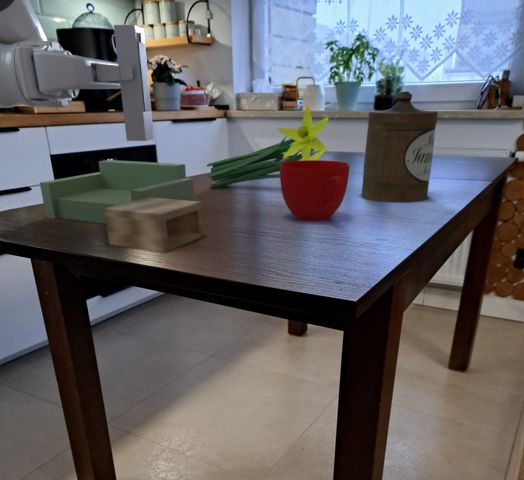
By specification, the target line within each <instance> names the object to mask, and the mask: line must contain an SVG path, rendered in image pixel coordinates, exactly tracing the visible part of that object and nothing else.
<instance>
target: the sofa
mask: <svg viewBox="0 0 524 480" xmlns="http://www.w3.org/2000/svg"><path fill="white" fill-rule="evenodd" d="M98 167H99V171H98V172H92V173H86V174H80V175H75V176H70V177H69V176H68V177H63V178H57V179H52V180H46V181H41V182H40V181H39V185H40V186H39V187H40V192H41V197H42V202H43V207H44V212H45V217H46V219H52V220H53V219H54V220H56V219H64V220H73V221H81V222H89V223H98V224H106V218H105V211H104V208H108V207H111V206H115V205H119V204H123V203H127V202H131V201H135V200H139V199H143V198H147V197H154V198H165V199H176V200H187V201H196V200H195V188H194V187H195V186H194V185H195V184H194V178H188V177H187V171H186V164H185V163H170V162H169V163H168V162H155V161H154V162H152V161H151V162H150V161H133V160H132V161H131V160H118V159H117V160H116V159H115V160H114V159H107V160H99V161H98Z"/></svg>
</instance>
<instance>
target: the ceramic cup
mask: <svg viewBox="0 0 524 480" xmlns="http://www.w3.org/2000/svg"><path fill="white" fill-rule="evenodd" d="M279 174H280V178H279V180H280V188H281V189H280V190H281V193H282V198H283V201H284V203H285V205H286V207H287V209H288V210H289V211H290V213H291V214H292V215H293V216H294V218H295V219H296V220H300V221H306V222H321V221H327V220H330V219H331V217H332V216H333V215H334V214H335V213H336V212H337V211H338V210H339V208H340V206H341V205H342V203H343V201H344V199H345V195H346V193H347V189H348V182H349V176H350V164H349V162H345V161H337V160H320V159H318V160H305V161H300V160H298V161H291V162H285V163H282V164H280V171H279Z"/></svg>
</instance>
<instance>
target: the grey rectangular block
mask: <svg viewBox="0 0 524 480" xmlns="http://www.w3.org/2000/svg"><path fill="white" fill-rule="evenodd" d="M113 33H114V40H115V41H114V42H115V50H116V59H117V63H118V66H132V67H134V69H135V79H134V80H120V85H121V89H120V92H121V93H120V94H121V102H122V103H121V104H122V112H123V118H124V119H123V120H124V128H125V129H124V130H125V138H126V141H127V142H147V141H150V140H153V139H155V136H154V128H153V127H154V124H153V113H152V103H151V94H150V93H151V92H150V82H149V81H150V80H149V71H148V60H147V59H148V57H147V49H146V38H145V29H144V28H143V27H141V26H138V25H136V24H113Z"/></svg>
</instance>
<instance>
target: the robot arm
mask: <svg viewBox="0 0 524 480" xmlns="http://www.w3.org/2000/svg"><path fill="white" fill-rule="evenodd" d="M134 79H135V69H134V67H132V66H118V62H114V61H109V60H103V59H98V58H92V57H86V56H80V55H76V54H72V53H71V52H70V51H69V50H66V49H64V48H63V46H62V45H61V44H60V43H59V42H57V41H56V40H48V38H47V35H46V33H45V31H44V29H43V25H42V24H41V23H40V20H39V18H38V15H37V14H36V12H35V10H34V7H33V5H32V3H31V1H30V0H0V109H10V108H14V107H18V106H27V107H30V108H37V109H38V108H67V107H68V106H70V105H71V102H72V99H76V98H77V97H78V96H79V93H80V90H121V85H120V80H134Z"/></svg>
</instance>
